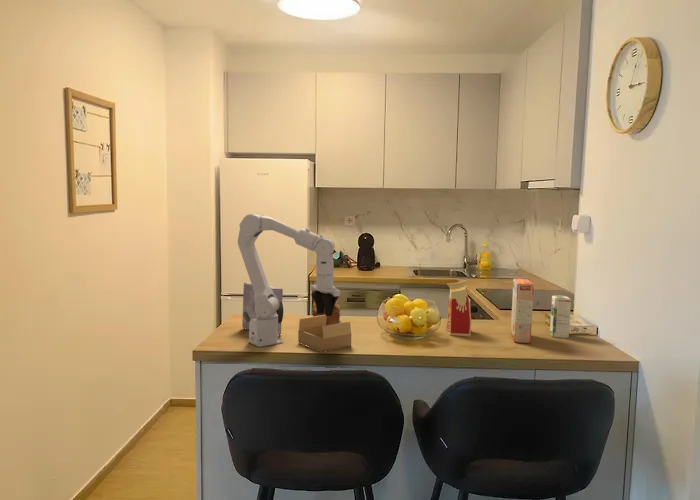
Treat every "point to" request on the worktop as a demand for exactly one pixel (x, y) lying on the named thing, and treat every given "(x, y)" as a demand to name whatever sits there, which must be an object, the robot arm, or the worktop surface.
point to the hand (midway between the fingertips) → (324, 314)
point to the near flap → (336, 330)
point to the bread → (330, 319)
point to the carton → (322, 340)
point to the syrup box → (560, 316)
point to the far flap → (312, 322)
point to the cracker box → (522, 310)
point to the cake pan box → (250, 305)
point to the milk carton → (458, 310)
